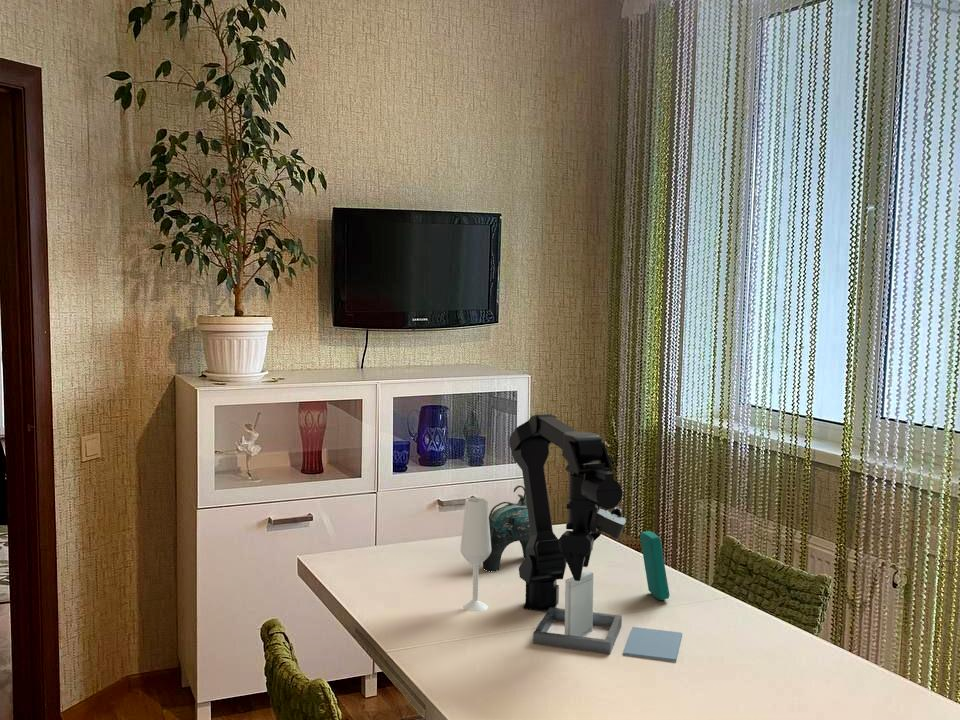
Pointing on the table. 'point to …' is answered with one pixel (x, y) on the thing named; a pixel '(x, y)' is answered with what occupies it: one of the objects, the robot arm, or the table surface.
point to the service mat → (653, 644)
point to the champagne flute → (476, 543)
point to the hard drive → (579, 605)
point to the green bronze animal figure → (507, 530)
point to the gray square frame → (576, 641)
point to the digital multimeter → (654, 565)
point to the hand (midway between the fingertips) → (581, 573)
